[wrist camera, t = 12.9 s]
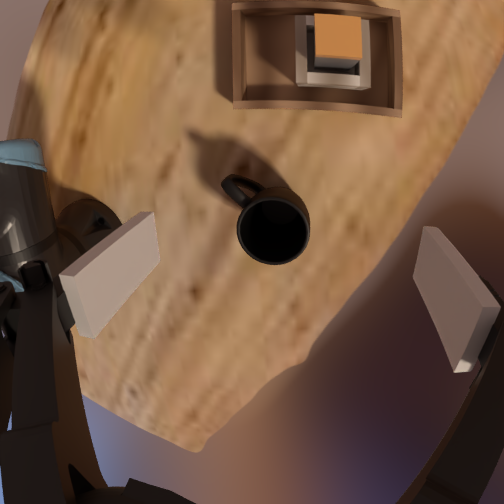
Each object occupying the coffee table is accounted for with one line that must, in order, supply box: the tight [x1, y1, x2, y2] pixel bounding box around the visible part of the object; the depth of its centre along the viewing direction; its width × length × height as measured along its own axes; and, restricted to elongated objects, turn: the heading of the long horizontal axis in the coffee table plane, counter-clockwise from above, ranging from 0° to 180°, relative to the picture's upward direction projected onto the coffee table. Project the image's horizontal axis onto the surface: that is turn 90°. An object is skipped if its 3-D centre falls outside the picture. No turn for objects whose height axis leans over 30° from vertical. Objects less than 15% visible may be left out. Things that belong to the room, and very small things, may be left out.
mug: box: [221, 174, 310, 265], centre depth 39 cm, size 8×12×10 cm
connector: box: [313, 14, 362, 71], centre depth 27 cm, size 4×4×11 cm
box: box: [232, 0, 403, 118], centre depth 31 cm, size 20×14×7 cm
